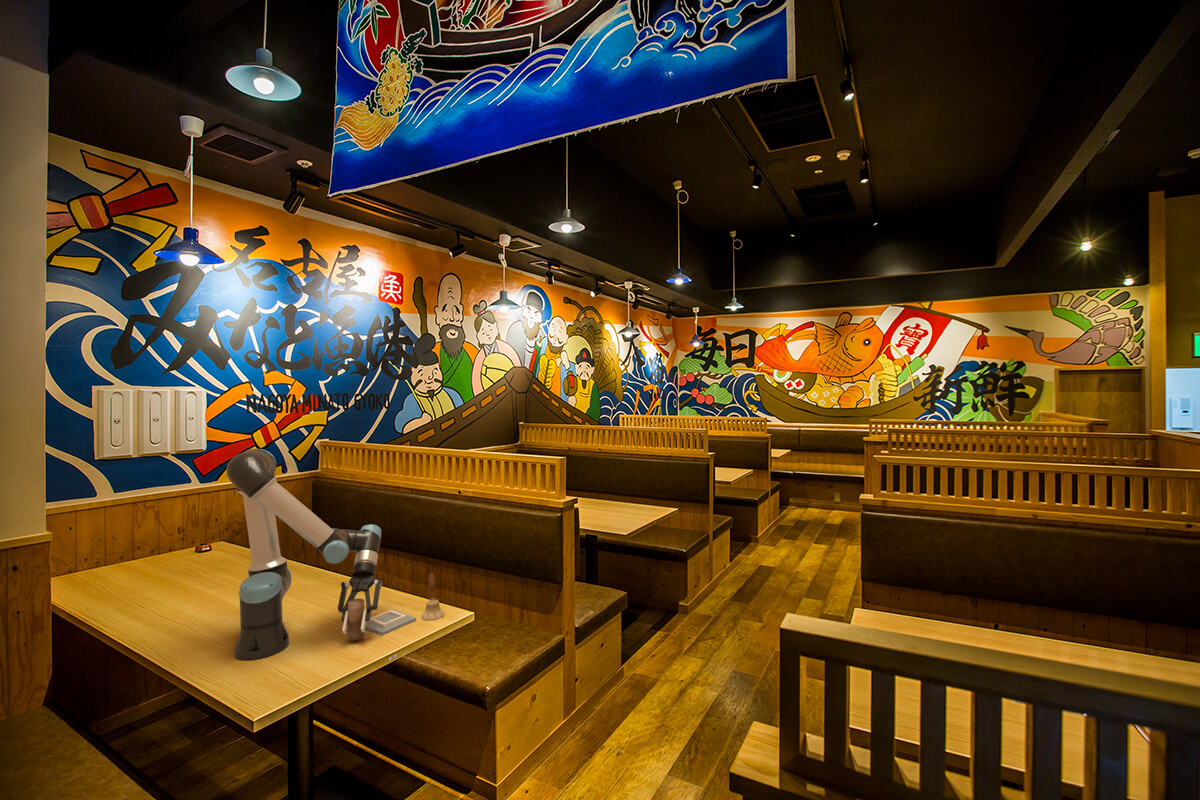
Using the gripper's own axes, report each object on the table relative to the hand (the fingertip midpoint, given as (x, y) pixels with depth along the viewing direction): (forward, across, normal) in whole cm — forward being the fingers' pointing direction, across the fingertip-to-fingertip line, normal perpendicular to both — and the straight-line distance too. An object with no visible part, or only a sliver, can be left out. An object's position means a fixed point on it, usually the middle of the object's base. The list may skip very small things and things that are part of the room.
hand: (353, 631), depth 175 cm
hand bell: (-10, -23, -16) cm, 30 cm away
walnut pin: (0, 0, -5) cm, 5 cm away
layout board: (-8, -8, -14) cm, 18 cm away
